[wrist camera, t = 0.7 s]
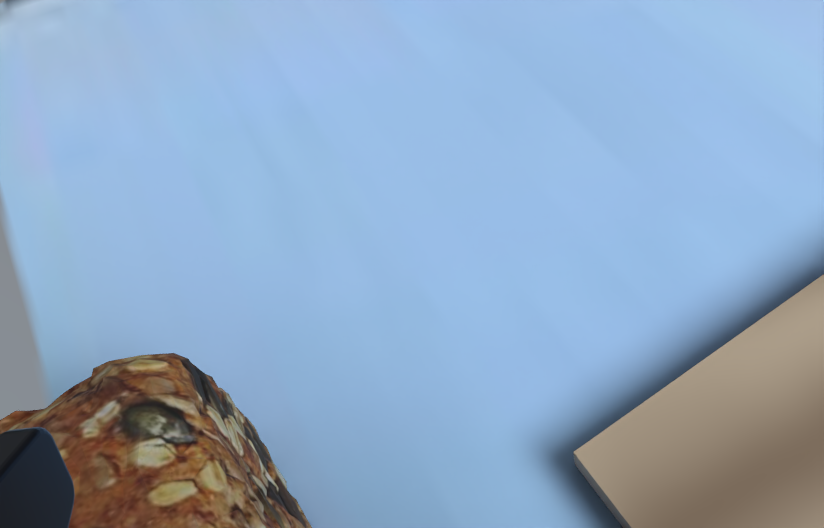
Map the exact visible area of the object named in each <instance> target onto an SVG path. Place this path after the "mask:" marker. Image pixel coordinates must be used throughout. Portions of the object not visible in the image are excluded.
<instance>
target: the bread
mask: <svg viewBox="0 0 824 528" xmlns="http://www.w3.org/2000/svg"><path fill="white" fill-rule="evenodd" d="M33 427H41V428H44V429H46V430H47V431H48V432H50V434H51V435H52V437H53V439H54V441H55V443H56V445H57V447H58V450H59V452H60V454H61V456H62V458H63V460H64V463H65V465H66V467H67V469H68V471H69V473H70V476H71V478H72V481H73V485H74V492H75V496H74V505H73V509H72V514H71V518H70V522H69V527H68V528H312V527H311V525H310V524H309V522H308V520H307V519H306V517H305V515H304V513H303V511H302V510H301V508H300V506H299V504H298V502H297V500H296V499H295V498H294V497H292V496H291V495H290V494H289V492H288V491H287V485H286V481H285V479H284V478H283V476H282V475H281V473H280V472H279V470H278V469H277V467H276V466H275V465H274V463H273V462H272V459H271V457H270V454H269V452H268V449H267V447H266V446H265V445H264V444H263V443H262V441H261V440H260V438H259V436H258V434H257V432H256V429H255V427H254V426H253V425H252V423H251V422H250V421H249V420H248V418H246V417H245V416H244V415H243V414H242V413H241V412H240V411H239V409H238V408H237V407H235V405H234V403H233V401H232V399H231V397H230V396H229V394H228V393H226V392H225V391H224V390H223V389H222V388H218V386H217V385H216V383H215V381H214V380H213V378H212V377H211V376H209V375H206V374H204V373H203V372H202V371H201V370H199V369H198V368H197V367H196V366H194V365H193V364H192V363H191V362H190V361H189V359H187V358H185V357H182V356H179V355H177V354H174V353H170V354H155V355H141V356H135V357H130V358H124V359H119V360H114V361H109V362H106V363H104V364H102V365H100V366H98V367H96V368H94V369H93V373H92V376H91V377H90V378H88V379H86V380H84V381H82V382H81V383H79V384H77V385H75V386H73V387H72V388H71V389H69V390H68V391H66V392H65V393H63V394H62V395H61V396H60V397H59V398H57V399H56V400H55V401H54V402H53V403H52V404H51V405H49V406H48V407H47V408H45V409H41V410H33V411H15V412H13V413H11V414H10V415H8V416H7V417H5V418H3V419H2V420H0V434H2V433H3V432H6V431H9V430H15V429H24V428H33Z"/></svg>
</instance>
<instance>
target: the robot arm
mask: <svg viewBox="0 0 824 528" xmlns="http://www.w3.org/2000/svg"><path fill="white" fill-rule="evenodd" d="M74 496H75V492H74V485H73V481H72V478H71V476H70V473H69V471H68V469H67V467H66V465H65V463H64V460H63V458H62V456H61V454H60V452H59V450H58V447H57V445H56V443H55V441H54V439H53V437H52V435H51V434H50V432H48V431H47V430H46V429H44V428H41V427H33V428H24V429H15V430H9V431H6V432H3V433H2V434H0V528H68V527H69V522H70V518H71V514H72V509H73V505H74Z"/></svg>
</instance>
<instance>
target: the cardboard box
mask: <svg viewBox="0 0 824 528" xmlns="http://www.w3.org/2000/svg"><path fill="white" fill-rule="evenodd" d="M573 453H574V461H575V465H576V467H577V468H578V469H579V471H580V472H581V473H582V474H583V476H584V477H585V478H586V480H587V481H588V482H589V484H590V485H591V486H592V488H593V489H594V490H595V492H596V493H597V494H598V495H599V497H600V498H601V499H602V501H603V502H604V503H605V505H606V506H607V507H608V509H609V510H610V511H611V513H612V514H613V515H614V516H615V518H616V519H617V520H618V522H619V523H620V524H621V526H622V527H623V528H824V274H823V275H822V276H820V277H819V278H818V279H816V280H815V281H813V282H812V283H811V284H809V285H808V286H806V287H805V288H804V289H802V290H801V291H799V292H798V293H796V294H795V295H794V296H792V297H791V298H789V299H788V300H787V301H785V302H784V303H782V304H781V305H780V306H778V307H777V308H775V309H774V310H773V311H771V312H770V313H768V314H767V315H765V316H764V317H763V318H761V319H760V320H758V321H757V322H756V323H754V324H753V325H751V326H750V327H749V328H747V329H746V330H744V331H743V332H742V333H740V334H739V335H737V336H736V337H735V338H733V339H732V340H730V341H729V342H727V343H726V344H725V345H723V346H722V347H720V348H719V349H718V350H716V351H715V352H713V353H712V354H711V355H709V356H708V357H706V358H705V359H704V360H702V361H701V362H699V363H698V364H696V365H695V366H694V367H692V368H691V369H689V370H688V371H687V372H685V373H684V374H682V375H681V376H680V377H678V378H677V379H675V380H674V381H673V382H671V383H670V384H668V385H667V386H666V387H664V388H663V389H661V390H660V391H658V392H657V393H656V394H654V395H653V396H651V397H650V398H649V399H647V400H646V401H644V402H643V403H642V404H640V405H639V406H637V407H636V408H635V409H633V410H632V411H630V412H629V413H628V414H626V415H625V416H623V417H622V418H620V419H619V420H618V421H616V422H615V423H613V424H612V425H611V426H609V427H608V428H606V429H605V430H604V431H602V432H601V433H599V434H598V435H597V436H595V437H594V438H592V439H591V440H589V441H588V442H587V443H585V444H584V445H582V446H581V447H580V448H578V449H577V450H575V451H574V452H573Z"/></svg>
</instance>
